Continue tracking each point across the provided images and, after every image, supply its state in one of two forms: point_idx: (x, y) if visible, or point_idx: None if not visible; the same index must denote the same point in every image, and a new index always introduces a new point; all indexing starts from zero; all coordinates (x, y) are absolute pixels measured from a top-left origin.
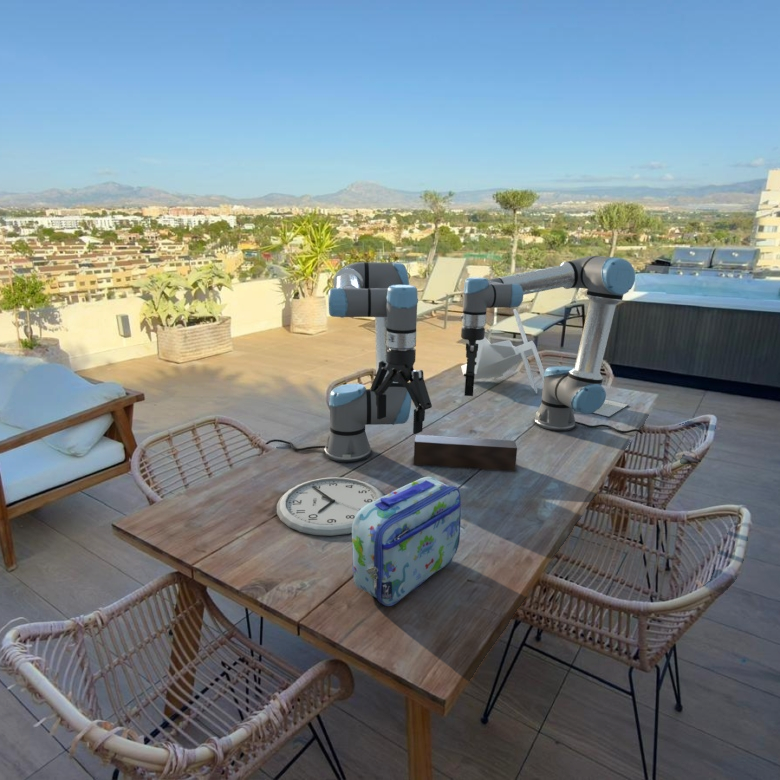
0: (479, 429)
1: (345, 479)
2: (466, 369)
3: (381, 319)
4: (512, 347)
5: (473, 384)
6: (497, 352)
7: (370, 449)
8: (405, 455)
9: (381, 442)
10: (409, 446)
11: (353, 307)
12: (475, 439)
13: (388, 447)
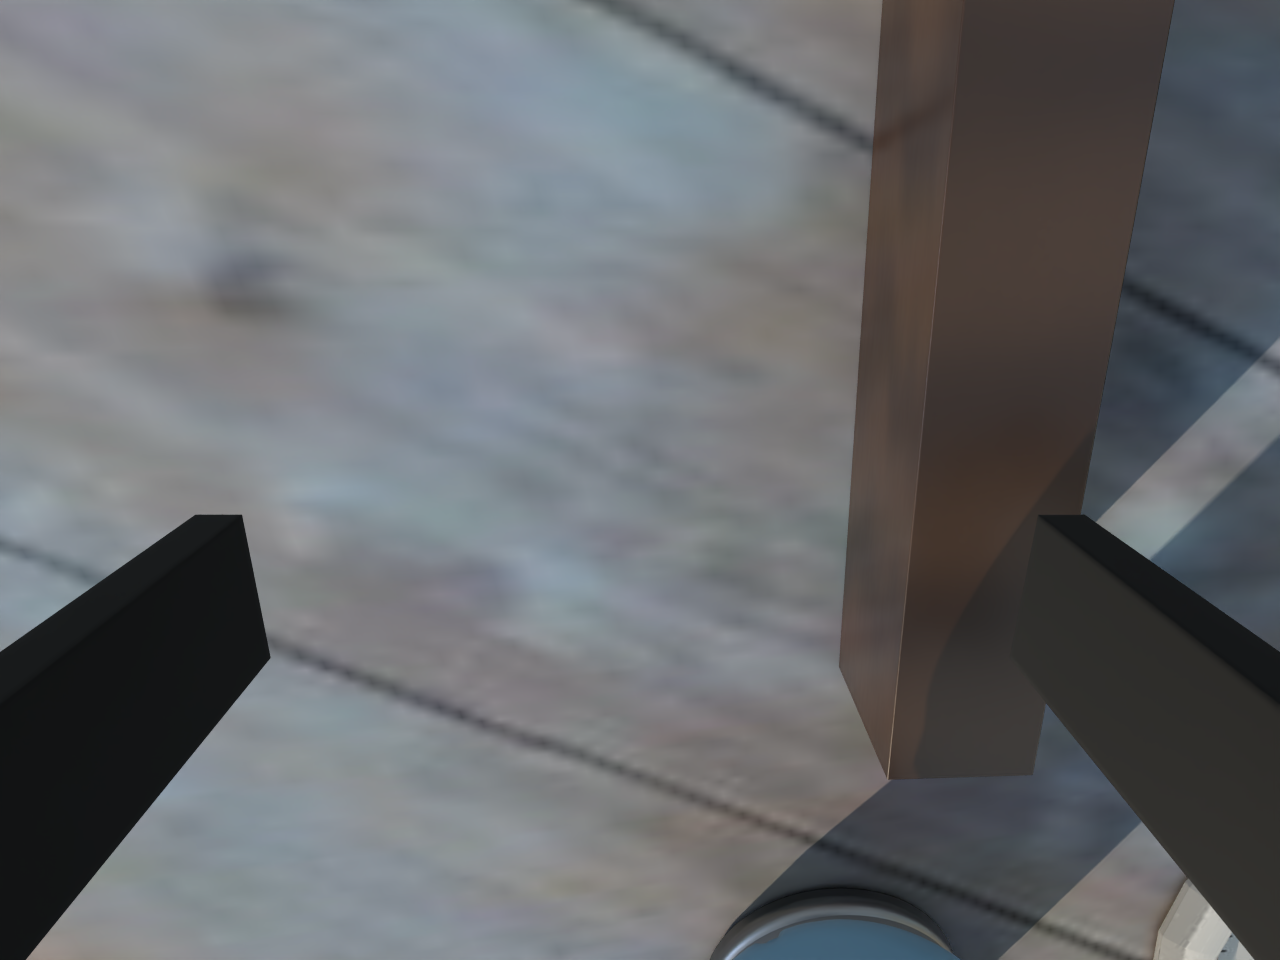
0: (171, 227)
1: (1219, 949)
2: (55, 920)
3: None
4: None
5: (1276, 658)
6: None
7: (832, 910)
8: (820, 719)
9: (644, 859)
10: (675, 712)
11: None
12: (968, 301)
13: (713, 817)
